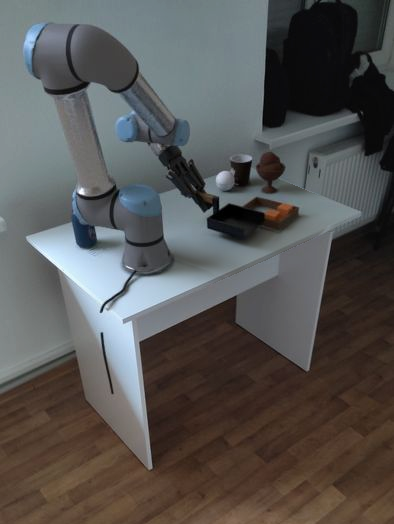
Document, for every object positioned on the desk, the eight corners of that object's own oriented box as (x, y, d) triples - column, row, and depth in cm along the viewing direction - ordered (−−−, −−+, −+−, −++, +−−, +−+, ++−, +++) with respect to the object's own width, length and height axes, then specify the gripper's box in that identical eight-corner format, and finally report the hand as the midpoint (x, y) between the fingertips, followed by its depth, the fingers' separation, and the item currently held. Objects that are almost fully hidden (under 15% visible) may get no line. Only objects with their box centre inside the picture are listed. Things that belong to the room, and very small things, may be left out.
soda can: (97, 248, 166) (91, 214, 158) (76, 250, 165) (69, 216, 158) (97, 238, 171) (91, 205, 163) (77, 240, 171) (70, 207, 163)
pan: (171, 217, 172) (170, 195, 167) (194, 203, 180) (193, 181, 175) (243, 239, 159) (244, 215, 154) (264, 222, 167) (265, 199, 162)
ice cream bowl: (283, 196, 191) (286, 156, 181) (253, 195, 193) (255, 156, 183) (284, 185, 199) (287, 146, 189) (255, 184, 201) (257, 146, 191)
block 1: (263, 214, 170) (275, 216, 169) (269, 209, 173) (280, 211, 171) (263, 225, 173) (274, 228, 171) (268, 220, 176) (279, 223, 174)
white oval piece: (211, 189, 198) (211, 171, 194) (226, 184, 202) (226, 166, 197) (228, 197, 192) (228, 178, 187) (242, 192, 195) (243, 173, 191)
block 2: (276, 207, 174) (287, 210, 172) (282, 202, 176) (293, 205, 174) (276, 218, 177) (286, 221, 175) (281, 214, 179) (292, 216, 177)
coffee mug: (252, 187, 199) (253, 162, 192) (230, 188, 199) (230, 162, 192) (250, 176, 207) (251, 151, 201) (229, 176, 208) (229, 152, 201)
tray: (235, 220, 178) (235, 211, 175) (255, 205, 186) (256, 196, 184) (278, 232, 170) (279, 223, 167) (298, 216, 178) (299, 207, 176)
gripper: (157, 150, 159) (202, 212, 162) (185, 136, 168) (227, 195, 171) (146, 164, 164) (189, 223, 168) (174, 149, 173) (215, 206, 177)
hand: (208, 208), depth 169 cm, fingers closed on pan, 2 cm apart
